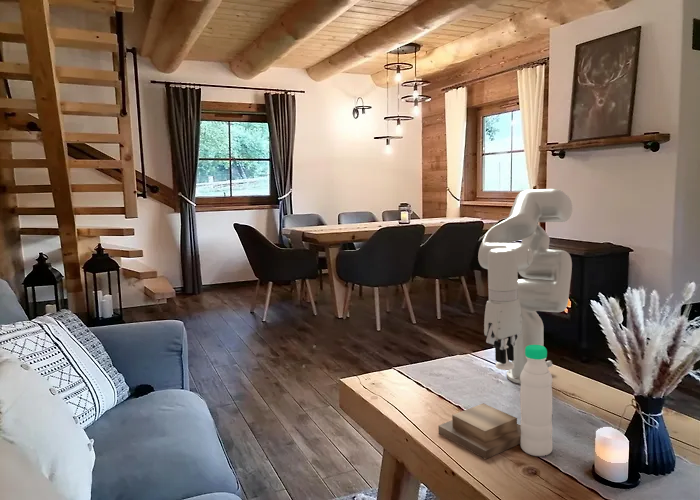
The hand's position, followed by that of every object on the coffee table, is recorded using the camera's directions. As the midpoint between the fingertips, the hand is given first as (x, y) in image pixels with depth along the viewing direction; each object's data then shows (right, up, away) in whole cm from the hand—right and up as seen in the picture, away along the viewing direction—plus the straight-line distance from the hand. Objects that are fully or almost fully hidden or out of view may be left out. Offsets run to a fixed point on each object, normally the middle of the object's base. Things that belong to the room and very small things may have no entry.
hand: (504, 360), depth 143 cm
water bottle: (+2, -17, -19) cm, 26 cm away
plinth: (-8, -16, -11) cm, 22 cm away
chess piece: (0, -2, 0) cm, 2 cm away
